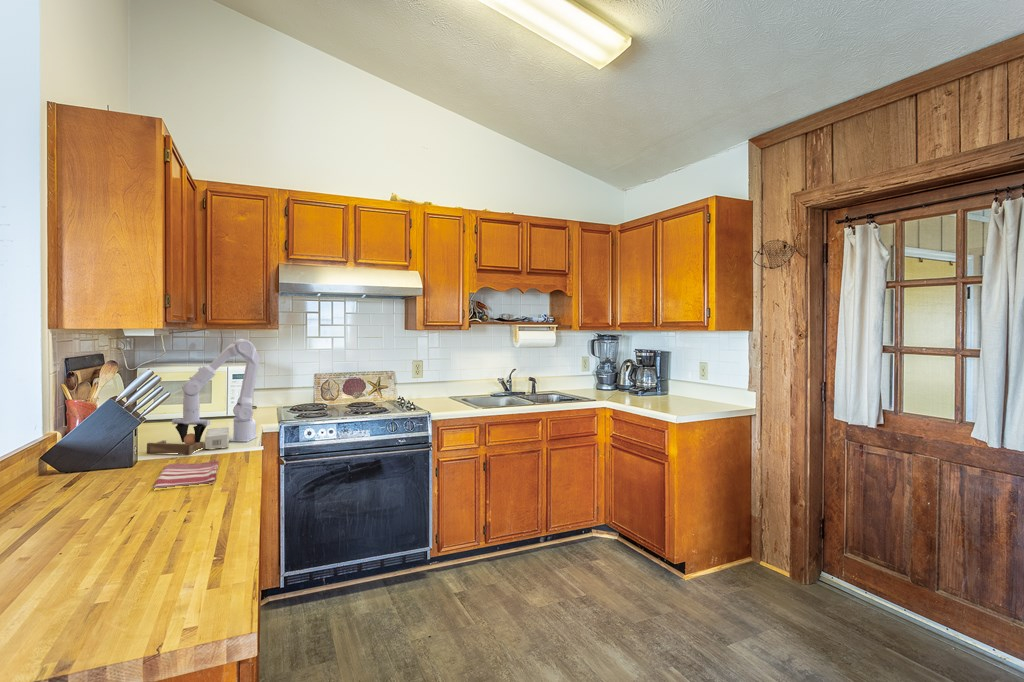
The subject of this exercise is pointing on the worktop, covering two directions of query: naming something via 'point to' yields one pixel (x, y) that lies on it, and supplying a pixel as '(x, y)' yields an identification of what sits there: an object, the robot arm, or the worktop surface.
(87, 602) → the worktop surface
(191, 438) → the ball
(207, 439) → the skincare box
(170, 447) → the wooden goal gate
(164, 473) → the dish towel
